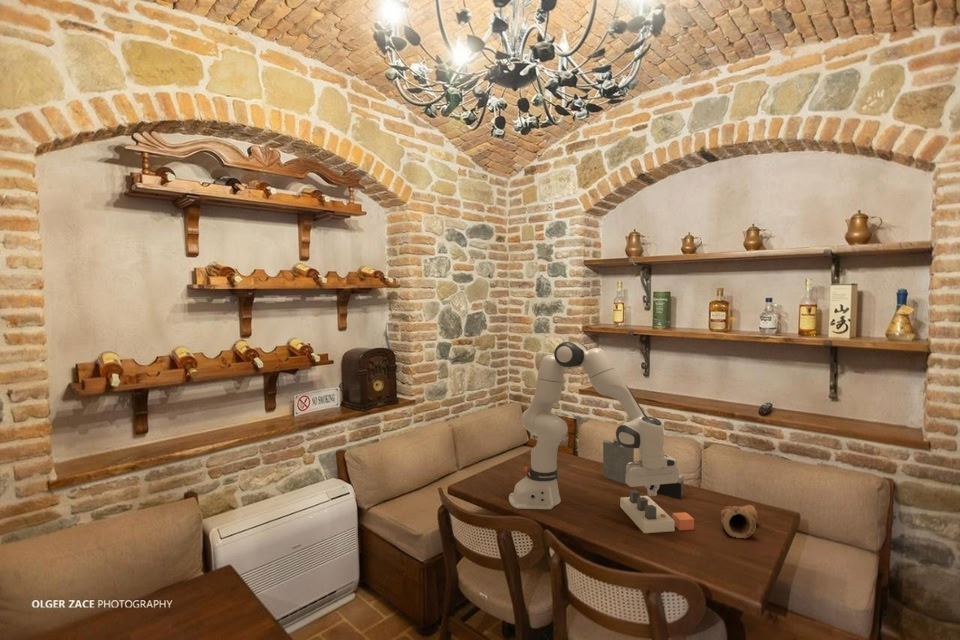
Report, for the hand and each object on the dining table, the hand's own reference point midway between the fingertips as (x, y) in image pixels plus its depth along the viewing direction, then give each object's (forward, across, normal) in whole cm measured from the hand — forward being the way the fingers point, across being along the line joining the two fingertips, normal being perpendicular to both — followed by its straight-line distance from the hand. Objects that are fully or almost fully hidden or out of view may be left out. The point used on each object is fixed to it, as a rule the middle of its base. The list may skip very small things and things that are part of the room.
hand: (652, 495), depth 180 cm
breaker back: (+9, -1, +13) cm, 16 cm away
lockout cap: (+12, +11, -2) cm, 17 cm away
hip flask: (+13, +5, +44) cm, 46 cm away
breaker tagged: (+9, -1, -1) cm, 9 cm away
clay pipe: (+13, +31, -8) cm, 35 cm away
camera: (+13, +21, +28) cm, 37 cm away
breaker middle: (+9, -1, +6) cm, 11 cm away
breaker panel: (+12, 0, +6) cm, 14 cm away
